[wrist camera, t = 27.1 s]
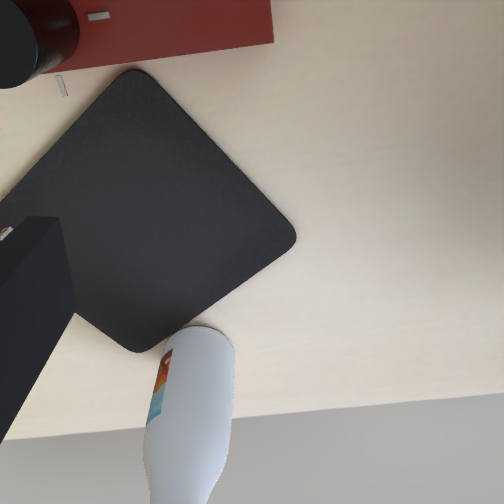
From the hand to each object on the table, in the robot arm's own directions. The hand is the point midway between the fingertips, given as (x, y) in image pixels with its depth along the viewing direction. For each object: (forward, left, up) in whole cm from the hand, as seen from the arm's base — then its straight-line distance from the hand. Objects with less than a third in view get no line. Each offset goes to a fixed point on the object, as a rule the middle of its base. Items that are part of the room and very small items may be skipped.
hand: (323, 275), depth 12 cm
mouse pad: (-13, +14, -27) cm, 33 cm away
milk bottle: (-28, +11, -27) cm, 40 cm away
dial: (+5, +15, -24) cm, 29 cm away
